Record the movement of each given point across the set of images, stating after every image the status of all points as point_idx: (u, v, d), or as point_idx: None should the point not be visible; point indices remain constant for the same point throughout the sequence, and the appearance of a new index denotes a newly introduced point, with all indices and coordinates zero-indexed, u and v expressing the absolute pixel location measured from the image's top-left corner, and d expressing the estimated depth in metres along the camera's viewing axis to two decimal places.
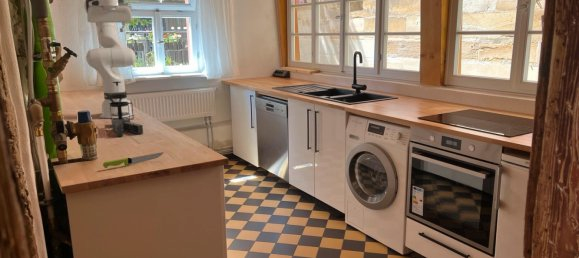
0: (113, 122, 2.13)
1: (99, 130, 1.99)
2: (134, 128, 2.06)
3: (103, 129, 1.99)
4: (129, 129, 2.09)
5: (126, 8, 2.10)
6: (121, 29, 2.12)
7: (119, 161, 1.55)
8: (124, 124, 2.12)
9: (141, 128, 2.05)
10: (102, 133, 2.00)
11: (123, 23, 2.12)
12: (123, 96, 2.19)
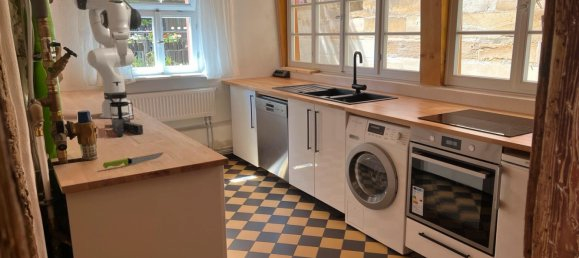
0: (113, 122, 2.13)
1: (99, 130, 1.99)
2: (134, 128, 2.06)
3: (103, 129, 1.99)
4: (129, 129, 2.09)
5: None
6: None
7: (119, 161, 1.55)
8: (124, 124, 2.12)
9: (141, 128, 2.05)
10: (102, 133, 2.00)
11: None
12: (123, 96, 2.19)
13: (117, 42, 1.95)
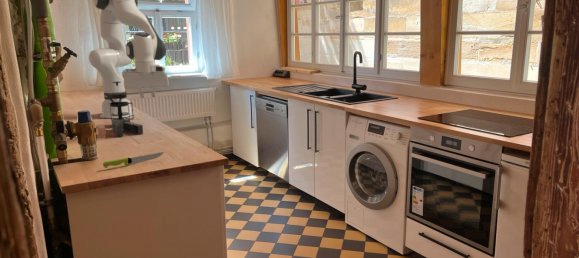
0: (113, 122, 2.13)
1: (99, 130, 1.99)
2: (134, 128, 2.06)
3: (103, 129, 1.99)
4: (129, 129, 2.09)
5: None
6: None
7: (119, 161, 1.55)
8: (124, 124, 2.12)
9: (141, 128, 2.05)
10: (102, 133, 2.00)
11: None
12: (123, 96, 2.19)
13: (166, 74, 2.06)
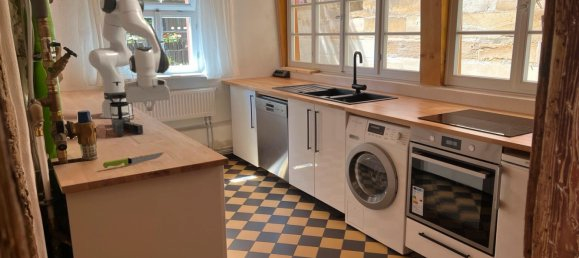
0: (113, 122, 2.13)
1: (99, 130, 1.99)
2: (134, 128, 2.06)
3: (103, 129, 1.99)
4: (129, 129, 2.09)
5: None
6: None
7: (119, 161, 1.55)
8: (124, 124, 2.12)
9: (141, 128, 2.05)
10: (102, 133, 2.00)
11: None
12: (123, 96, 2.19)
13: None
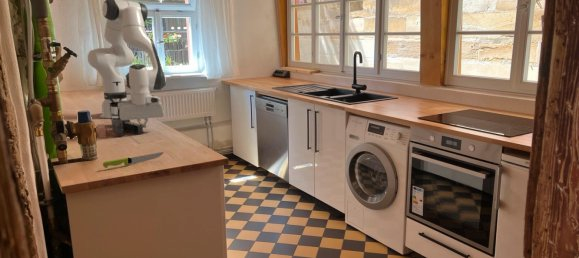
0: (113, 122, 2.13)
1: (99, 130, 1.99)
2: (134, 128, 2.06)
3: (103, 129, 1.99)
4: (129, 129, 2.09)
5: None
6: None
7: (119, 161, 1.55)
8: (124, 124, 2.12)
9: (141, 128, 2.05)
10: (102, 133, 2.00)
11: None
12: (123, 96, 2.19)
13: (161, 105, 2.08)
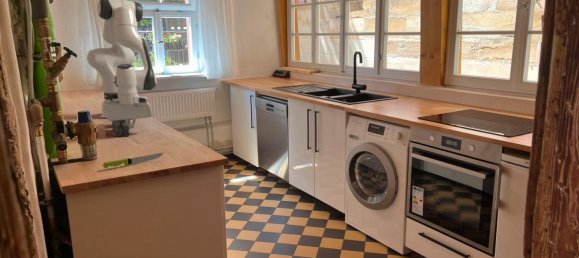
0: (113, 122, 2.13)
1: (99, 130, 1.99)
2: None
3: (103, 129, 1.99)
4: None
5: None
6: None
7: (119, 161, 1.55)
8: None
9: (127, 130, 2.01)
10: (102, 133, 2.00)
11: None
12: None
13: None
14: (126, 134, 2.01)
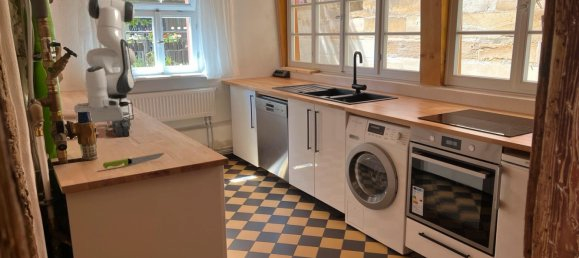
0: (113, 122, 2.13)
1: (99, 130, 1.99)
2: None
3: (103, 129, 1.99)
4: None
5: None
6: None
7: (119, 161, 1.55)
8: None
9: (127, 130, 2.01)
10: (102, 133, 2.00)
11: None
12: (123, 96, 2.19)
13: (120, 108, 2.03)
14: (126, 134, 2.01)
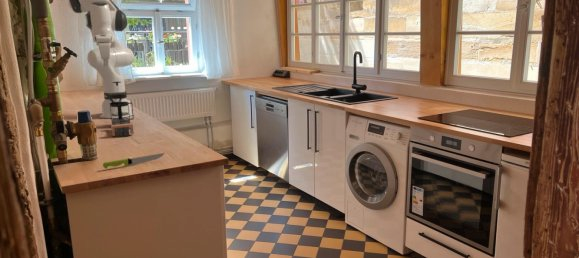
0: (113, 122, 2.13)
1: (111, 127, 2.01)
2: None
3: (111, 127, 2.00)
4: None
5: None
6: None
7: (119, 162, 1.55)
8: None
9: (127, 130, 2.01)
10: None
11: None
12: (123, 96, 2.19)
13: (100, 45, 1.94)
14: (126, 134, 2.01)
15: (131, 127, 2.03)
